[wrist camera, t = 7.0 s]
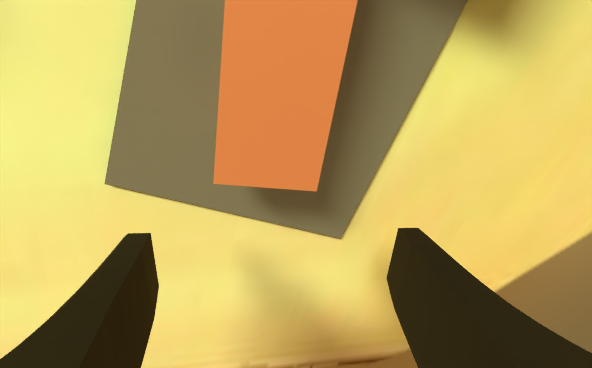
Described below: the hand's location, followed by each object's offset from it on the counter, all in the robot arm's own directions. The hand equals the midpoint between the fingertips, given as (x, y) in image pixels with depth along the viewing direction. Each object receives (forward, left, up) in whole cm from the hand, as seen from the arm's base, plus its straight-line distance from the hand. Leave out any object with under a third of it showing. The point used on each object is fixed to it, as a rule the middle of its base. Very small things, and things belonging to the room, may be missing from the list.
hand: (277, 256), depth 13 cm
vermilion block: (+4, -3, -9) cm, 11 cm away
